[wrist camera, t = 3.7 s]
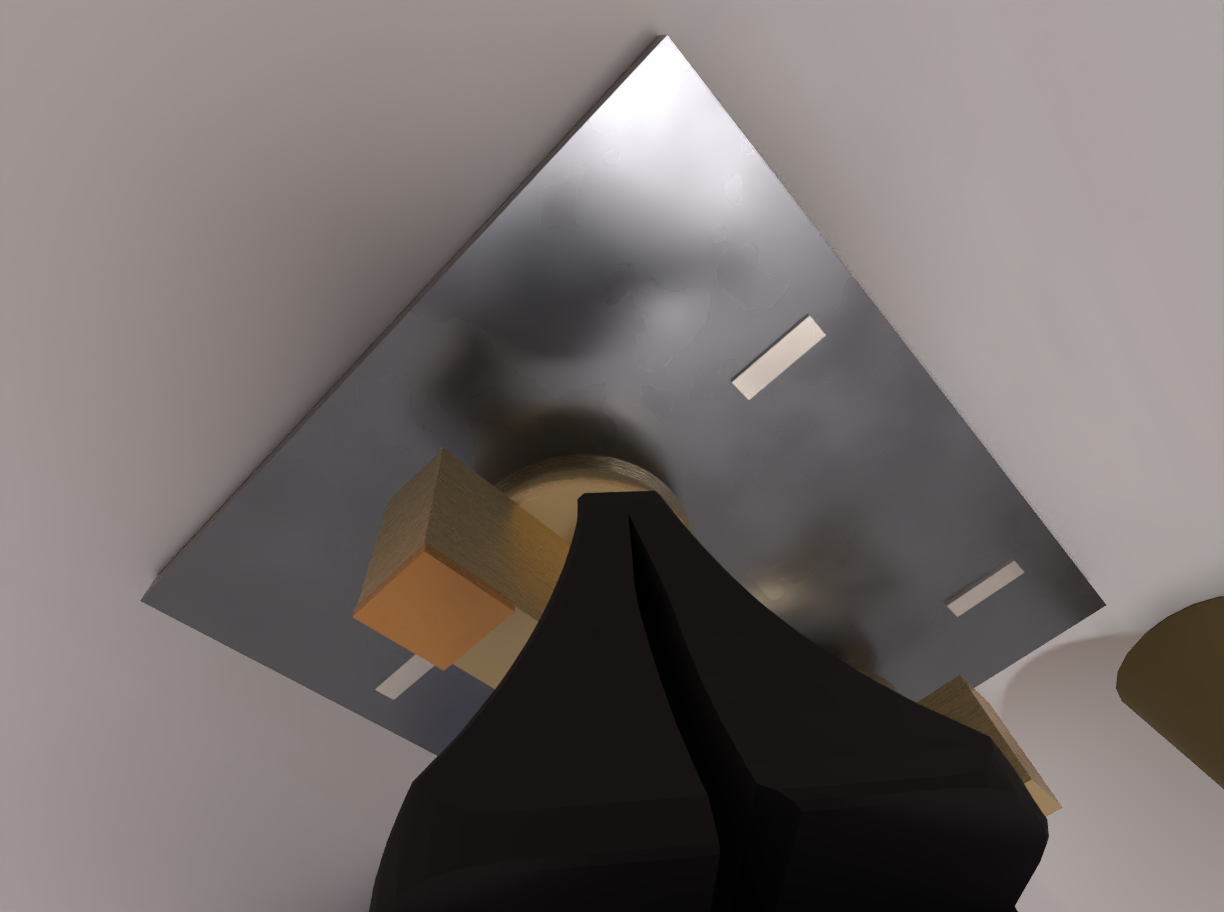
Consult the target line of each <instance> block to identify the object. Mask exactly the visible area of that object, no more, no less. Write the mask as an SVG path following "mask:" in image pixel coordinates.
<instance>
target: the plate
mask: <svg viewBox="0 0 1224 912" xmlns="http://www.w3.org/2000/svg"><path fill="white" fill-rule="evenodd" d="M443 448H444V449H445V450H447V451H448V452H449V453H451V454H452V455H453V456H455V457H456V458H457V459H459V460H460V461H461V462H463V463H464V464H465V465H467V466H468V467H469V468H470V469H472V470H473V471H474V472H476V473H477V474H478V475H480V476H481V477H482V478H484V479H485V480H486V481H488V482H489V483H490V484H492V485H493V486H494V485H495V484H496V483H498V482H499V481H500V480H501V479H503V478H504V477H506V476H508V475H509V474H511V473H512V472H514V471H516V470H518V469H520V468H522V467H525V466H527V465H529V464H532V463H535V462H538V461H541V460H544V459H548V458H553V457H558V456H564V455H576V454H586V455H600V456H607V457H612V458H616V459H620V460H623V461H627V462H629V463H631V464H634V465H636V466H639V467H641V468H643V469H644V470H646V471H648V472H650V473H651V474H653V475H654V476H656V477H657V478H658V479H660V480H661V481H662V482H664V484H665V485H666V486H667V487H668V488H669V489H670V490H671V491H672V492H673V493H674V494H675V496H676V497H677V498H678V500H679V501H680V503H681V505H682V507H683V509H684V511H685V513H686V515H687V518H688V521H689V524H690V527H691V529H692V532H693V535H694V537H695V538H696V539H697V540H698V541H699V542H700V543H701V544H702V545H703V547H704V548H705V549H706V550H707V551H708V552H709V553H710V554H711V555H712V556H713V557H714V558H715V559H716V560H717V561H718V562H719V564H720V565H721V566H722V567H723V568H724V569H725V570H726V571H727V572H728V573H729V574H730V575H731V576H732V577H733V578H734V579H736V580H737V581H738V582H739V583H740V584H741V585H742V586H743V587H744V588H745V589H746V590H747V591H748V592H749V593H750V594H752V595H753V596H754V597H755V598H756V599H757V600H758V601H760V602H761V603H762V604H763V605H764V606H766V607H767V608H768V609H769V610H771V611H772V612H773V613H774V614H776V615H777V616H778V617H780V618H781V619H782V620H784V621H785V622H786V623H787V624H789V625H790V626H791V627H793V628H794V629H795V630H797V631H798V632H799V633H801V634H802V635H804V636H805V637H806V638H808V639H809V640H811V641H812V642H813V643H815V644H817V645H818V646H820V647H821V648H823V649H824V650H826V651H827V652H829V653H830V654H832V655H833V656H835V657H837V658H838V659H840V660H841V661H843V662H844V663H846V664H847V665H849V666H851V667H852V668H854V669H859V670H864V671H868V672H871V673H874V674H877V675H879V676H881V677H883V678H885V679H886V680H887V681H889V682H890V683H891V684H893V685H894V687H895V688H896V689H897V690H898V691H899V693H900V694H901V695H903V696H904V697H906V698H908V699H910V700H912V701H914V702H916V703H917V702H918V701H920V700H921V699H923V698H924V697H926V696H928V695H929V694H931V693H932V692H934V691H935V690H937V689H939V688H940V687H942V686H943V685H945V684H946V683H948V682H950V681H951V680H953V679H954V678H956V677H957V676H959V675H961V676H962V677H963V678H964V679H965V680H966V681H967V682H968V683H969V684H970V685H971V686H972V687H973V688H975V687H976V686H978V685H980V684H981V683H983V682H984V681H986V680H988V679H989V678H991V677H992V676H994V675H996V674H997V673H999V672H1000V671H1002V670H1004V669H1005V668H1007V667H1008V666H1010V665H1012V664H1013V663H1015V662H1016V661H1018V660H1020V659H1021V658H1023V657H1024V656H1026V655H1027V654H1029V653H1031V652H1032V651H1034V650H1035V649H1037V648H1039V647H1040V646H1042V645H1043V644H1045V643H1047V642H1048V641H1050V640H1051V639H1053V638H1055V637H1056V636H1058V635H1059V634H1061V633H1063V632H1064V631H1066V630H1067V629H1069V628H1071V627H1072V626H1074V625H1075V624H1077V623H1079V622H1080V621H1082V620H1083V619H1085V618H1087V617H1088V616H1090V615H1091V614H1093V613H1095V612H1096V611H1098V610H1099V609H1101V608H1102V607H1104V606H1106V604H1105V603H1104V601H1103V600H1102V599H1101V598H1100V596H1099V595H1098V594H1097V592H1096V591H1095V590H1094V589H1093V587H1092V586H1091V585H1090V583H1089V582H1088V581H1087V579H1086V578H1085V577H1084V576H1083V574H1082V573H1081V572H1080V570H1079V569H1078V568H1077V566H1076V565H1075V564H1074V563H1073V561H1072V560H1071V559H1070V557H1069V556H1068V555H1067V553H1066V552H1065V551H1064V550H1063V548H1062V547H1061V546H1060V544H1059V543H1058V542H1057V540H1056V539H1055V538H1054V537H1053V535H1052V534H1051V533H1050V531H1049V530H1048V529H1047V527H1046V526H1045V525H1044V524H1043V522H1042V521H1041V520H1040V518H1039V517H1038V516H1037V515H1036V513H1035V512H1034V511H1033V509H1032V508H1031V507H1030V505H1029V504H1028V503H1027V502H1026V500H1025V499H1024V498H1023V496H1022V495H1021V494H1020V492H1019V491H1018V490H1017V489H1016V487H1015V486H1014V485H1013V483H1012V482H1011V481H1010V479H1009V478H1008V477H1007V476H1006V474H1005V473H1004V472H1003V470H1002V469H1001V468H1000V466H999V465H998V464H997V463H996V461H995V460H994V459H993V457H992V456H991V455H990V454H989V452H988V451H987V450H986V448H985V447H984V446H983V444H982V443H981V442H980V441H979V439H978V438H977V437H976V435H975V434H974V433H973V431H972V430H971V429H970V428H969V426H968V425H967V424H966V422H965V421H964V420H963V418H962V417H961V416H960V415H959V413H958V412H957V411H956V409H955V408H954V407H953V405H952V404H951V403H950V402H949V400H948V399H947V398H946V396H945V395H944V394H943V392H942V391H941V390H940V389H939V387H938V386H937V385H936V383H935V382H934V381H933V380H932V378H931V377H930V376H929V374H928V373H927V372H926V370H925V369H924V368H923V367H922V365H921V364H920V363H919V361H918V360H917V359H916V357H915V356H914V355H913V354H912V352H911V351H910V350H909V348H908V347H907V346H906V344H905V343H904V342H903V341H902V339H901V338H900V337H899V335H898V334H897V333H896V331H895V330H894V329H893V328H892V326H891V325H890V324H889V322H888V321H887V320H886V318H885V317H884V316H883V315H882V313H881V312H880V311H879V309H878V308H877V307H876V306H875V304H874V303H873V302H872V300H871V299H870V298H869V296H868V295H867V294H866V293H865V291H864V290H863V289H862V287H861V286H860V285H859V283H858V282H857V281H856V280H855V278H854V277H853V276H852V274H851V273H850V272H849V270H848V269H847V268H846V267H845V265H844V264H843V263H842V261H841V260H840V259H839V257H838V256H837V255H836V254H835V252H834V251H833V250H832V248H831V247H830V246H829V245H828V243H827V242H826V241H825V239H824V238H823V237H822V235H821V234H820V233H819V232H818V230H817V229H816V228H815V226H814V225H813V224H812V222H811V221H810V220H809V219H808V217H807V216H806V215H805V213H804V212H803V211H802V209H801V208H800V207H799V206H798V204H797V203H796V202H795V200H794V199H793V198H792V196H791V195H790V194H789V193H788V191H787V190H786V189H785V187H784V186H783V185H782V183H781V182H780V181H779V180H778V178H777V177H776V176H775V174H774V173H773V172H772V171H771V169H770V168H769V167H768V165H767V164H766V163H765V161H764V160H763V159H762V158H761V156H760V155H759V154H758V152H757V151H756V150H755V148H754V147H753V146H752V145H751V143H750V142H749V141H748V139H747V138H746V137H745V135H744V134H743V133H742V132H741V130H740V129H739V128H738V126H737V125H736V124H735V122H734V121H733V120H732V119H731V117H730V116H729V115H728V113H727V112H726V111H725V110H724V108H723V107H722V106H721V104H720V103H719V102H718V100H717V99H716V98H715V97H714V95H713V94H712V93H711V91H710V90H709V89H708V87H707V86H706V85H705V84H704V82H703V81H702V80H701V78H700V77H699V76H698V74H697V73H696V72H695V71H694V69H693V68H692V67H691V65H690V64H689V63H688V61H687V60H686V59H685V58H684V56H683V55H682V54H681V52H680V51H679V50H678V48H677V47H676V46H675V45H674V43H673V42H672V41H671V39H670V38H669V37H668V36H667V35H660V36H658V37H657V38H656V39H655V40H654V41H653V42H652V43H651V45H650V46H649V47H648V48H647V49H646V50H645V51H644V52H643V53H642V54H641V55H640V56H639V58H638V59H637V60H636V61H635V62H634V63H633V64H632V65H631V66H630V67H629V68H628V69H627V70H626V72H625V73H624V74H623V75H622V76H621V77H620V78H619V79H618V80H617V81H616V82H615V83H614V84H613V86H612V87H611V88H610V89H609V90H608V91H607V92H606V93H605V94H604V95H603V96H602V97H601V98H600V100H599V101H598V102H597V103H596V104H595V105H594V106H593V107H592V108H591V109H590V110H589V111H588V112H587V114H586V115H585V116H584V117H583V118H582V119H581V120H580V121H579V122H578V123H577V124H576V125H575V126H574V128H573V129H572V130H571V131H570V132H569V133H568V134H567V135H566V136H565V137H564V138H563V139H562V140H561V142H560V143H559V144H558V145H557V146H556V147H555V148H554V149H553V150H552V151H551V152H550V153H549V154H548V156H547V157H546V158H545V159H544V160H543V161H542V162H541V163H540V164H539V165H538V166H537V167H536V168H535V170H534V171H533V172H532V173H531V174H530V175H529V176H528V177H527V178H526V179H525V180H524V181H523V182H522V184H521V185H520V186H519V187H518V188H517V189H516V190H515V191H514V192H513V193H512V194H511V195H510V196H509V198H508V199H507V200H506V201H505V202H504V203H503V204H502V205H501V206H500V207H499V208H498V209H497V210H496V212H495V213H494V214H493V215H492V216H491V217H490V218H489V219H488V220H487V221H486V222H485V223H484V225H483V226H482V227H481V228H480V229H479V230H478V231H477V232H476V233H475V234H474V235H473V236H472V237H471V239H470V240H469V241H468V242H467V243H466V244H465V245H464V246H463V247H462V248H461V249H460V250H459V251H458V253H457V254H456V255H455V256H454V257H453V258H452V259H451V260H450V261H449V262H448V263H447V264H446V265H445V267H444V268H443V269H442V270H441V271H440V272H439V273H438V274H437V275H436V276H435V277H434V278H433V279H432V281H431V282H430V283H429V284H428V285H427V286H426V287H425V288H424V289H423V290H422V291H421V292H420V293H419V295H418V296H417V297H416V298H415V299H414V300H413V301H412V302H411V303H410V304H409V305H408V306H407V307H406V309H405V310H404V311H403V312H402V313H401V314H400V315H399V316H398V317H397V318H396V319H395V320H394V321H393V323H392V324H391V325H390V326H389V327H388V328H387V329H386V330H385V331H384V332H383V333H382V334H381V335H380V337H379V338H378V339H377V340H376V341H375V342H374V343H373V344H372V345H371V346H370V347H369V348H368V349H367V351H366V352H365V353H364V354H363V355H362V356H361V357H360V358H359V359H358V360H357V361H356V362H355V363H354V365H353V366H352V367H351V368H350V369H349V370H348V371H347V372H346V373H345V374H344V375H343V376H342V377H341V379H340V380H339V381H338V382H337V383H336V384H335V385H334V386H333V387H332V388H331V389H330V390H329V392H328V393H327V394H326V395H325V396H324V397H323V398H322V399H321V400H320V401H319V402H318V403H317V404H316V406H315V407H314V408H313V409H312V410H311V411H310V412H309V413H308V414H307V415H306V416H305V417H304V418H303V420H302V421H301V422H300V423H299V424H298V425H297V426H296V427H295V428H294V429H293V430H292V431H291V432H290V434H289V435H288V436H287V437H286V438H285V439H284V440H283V441H282V442H281V443H280V444H279V445H278V446H277V448H276V449H275V450H274V451H273V452H272V453H271V454H270V455H269V456H268V457H267V458H266V459H265V460H264V462H263V463H262V464H261V465H260V466H259V467H258V468H257V469H256V470H255V471H254V472H253V473H252V474H251V476H250V477H249V478H248V479H247V480H246V481H245V482H244V483H243V484H242V485H241V486H240V487H239V488H238V490H237V491H236V492H235V493H234V494H233V495H232V496H231V497H230V498H229V499H228V500H227V501H226V502H225V504H224V505H223V506H222V507H221V508H220V509H219V510H218V511H217V512H216V513H215V514H214V515H213V516H212V518H211V519H210V520H209V521H208V522H207V523H206V524H205V525H204V526H203V527H202V528H201V529H200V530H199V532H198V533H197V534H196V535H195V536H194V537H193V538H192V539H191V540H190V541H189V542H188V543H187V544H186V546H185V547H184V548H183V549H182V550H181V551H180V552H179V553H178V554H177V555H176V556H175V557H174V558H173V560H172V561H171V562H170V563H169V564H168V565H167V566H166V567H165V568H164V569H163V570H162V571H161V573H160V574H159V575H158V576H157V577H156V578H155V580H154V581H153V583H152V584H151V586H150V587H149V589H148V590H147V591H146V593H145V594H144V596H143V597H142V599H141V600H140V601H142V602H144V603H146V604H148V605H149V606H151V607H153V608H155V609H157V610H159V611H161V612H163V613H165V614H167V615H169V616H171V617H173V618H174V619H176V620H178V621H180V622H182V623H184V624H186V625H188V626H190V627H192V628H194V629H196V630H197V631H199V632H201V633H203V634H205V635H207V636H209V637H211V638H213V639H215V640H217V641H219V642H220V643H222V644H224V645H226V646H228V647H230V648H232V649H234V650H236V651H238V652H240V653H242V654H244V655H245V656H247V657H249V658H251V659H253V660H255V661H257V662H259V663H261V664H263V665H265V666H267V667H268V668H270V669H272V670H274V671H276V672H278V673H280V674H282V675H284V676H286V677H288V678H290V679H292V680H293V681H295V682H297V683H299V684H301V685H303V686H305V687H307V688H309V689H311V690H313V691H315V692H316V693H318V694H320V695H322V696H324V697H326V698H328V699H330V700H332V701H334V702H336V703H338V704H340V705H341V706H343V707H345V708H347V709H349V710H351V711H353V712H355V713H357V714H359V715H361V716H363V717H364V718H366V719H368V720H370V721H372V722H374V723H376V724H378V725H380V726H382V727H384V728H386V729H387V730H389V731H391V732H393V733H395V734H397V735H399V736H401V737H403V738H405V739H407V740H409V741H411V742H412V743H414V744H416V745H418V746H420V747H422V748H424V749H426V750H428V751H430V752H432V753H434V754H435V755H437V756H438V755H439V754H440V753H441V752H442V751H443V750H444V749H445V748H446V747H447V746H448V745H449V744H450V743H451V742H452V741H453V740H454V739H455V737H456V736H457V735H458V734H459V733H460V732H461V731H462V730H463V728H464V727H465V726H466V725H467V724H468V722H469V721H470V720H471V719H472V717H473V716H474V715H475V714H476V712H477V711H478V710H479V709H480V707H481V706H482V705H483V704H484V702H485V701H486V700H487V699H488V697H489V696H490V695H491V694H492V692H493V691H494V690H495V689H494V688H492V687H490V686H489V685H487V684H485V683H484V682H482V681H480V680H479V679H477V678H475V677H474V676H472V675H470V674H469V673H467V672H465V671H464V670H462V669H460V668H459V667H457V666H455V665H454V664H452V665H450V666H449V667H448V668H447V669H446V670H444V671H443V670H441V669H440V668H438V667H436V666H435V665H433V664H431V663H430V662H428V661H426V660H424V659H423V658H421V657H419V656H418V655H416V654H414V653H413V652H411V651H409V650H407V649H406V648H404V647H402V646H401V645H399V644H397V643H396V642H394V641H392V640H390V639H389V638H387V637H385V636H384V635H382V634H380V633H379V632H377V631H375V630H373V629H372V628H370V627H368V626H367V625H365V624H363V623H362V622H360V621H358V620H356V619H355V618H353V613H354V610H355V607H356V606H357V604H358V601H359V597H360V594H361V591H362V587H363V584H364V581H365V577H366V574H367V571H368V567H369V564H370V560H371V557H372V554H373V550H374V547H375V544H376V540H377V537H378V533H379V530H380V527H381V523H382V520H383V517H384V513H385V510H386V506H387V503H388V501H389V500H390V499H391V498H392V497H393V496H394V495H395V494H396V493H397V492H398V491H399V490H400V489H401V488H402V487H403V486H404V485H405V484H406V483H407V482H409V481H410V480H411V479H412V478H413V477H414V476H415V475H416V474H417V473H418V472H419V471H420V470H421V469H422V468H423V467H424V466H425V465H426V464H427V463H428V462H429V461H430V460H431V459H432V458H433V457H434V456H435V455H436V454H437V453H438V452H439V451H440V450H442V449H443Z"/></svg>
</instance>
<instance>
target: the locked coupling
mask: <svg viewBox="0 0 1224 912" xmlns="http://www.w3.org/2000/svg"><path fill="white" fill-rule="evenodd" d="M856 670H858V671H859V672H861V673H863V674H864V675H866V676H868V677H869V678H871V679H873V680H875V681H877V682H878V683H880V684H882V685H884V686H886V687H888V688H890V689H891V690H893V691H895V692H897V693H899V691H898V690H897V689H896V688H895V687H894V685H893V684H891V683H890V682H889V681H887V680H886V679H885V678H883V677H881V676H879V675H877V674H874V673H871V672H868V671H864V670H859V669H856ZM899 694H900V693H899ZM917 703H918V704H920V705H922V706H924V707H926V708H929V709H931V710H933V711H935V712H937V713H939V714H942V715H944V716H946V717H948V718H950V719H953V720H955V721H957V722H959V723H961V724H964V725H966V726H968V727H970V728H972V729H974V730H977V731H979V732H981V733H983V734H985V735H988V736H990V737H991V739H992V740H993V741H994V743H995V744H996V745H997V747H998V748H999V749H1000V750H1001V752H1002V753H1003V754H1004V756H1005V757H1006V758H1007V760H1008V761H1009V762H1010V764H1011V765H1012V766H1013V768H1014V769H1015V771H1016V772H1017V774H1018V775H1019V777H1020V778H1021V780H1022V781H1023V783H1024V784H1025V786H1026V788H1027V789H1028V791H1029V792H1030V794H1031V796H1032V797H1033V799H1034V800H1035V802H1036V803H1037V805H1038V806H1039V808H1040V809H1041V811H1042V812H1043V814H1044V815H1045V817H1046V816H1048V815H1050V814H1052V813H1054V812H1055V811H1057V810H1059V809H1061V808H1062V806H1061V805H1060V803H1059V802H1058V800H1057V799H1056V798H1055V796H1054V795H1053V793H1052V792H1051V790H1050V789H1049V788H1048V786H1047V785H1046V783H1045V782H1044V780H1043V779H1042V778H1041V776H1040V775H1039V773H1038V772H1037V771H1036V769H1035V768H1034V766H1033V765H1032V763H1031V762H1030V761H1029V759H1028V758H1027V756H1026V755H1025V754H1024V752H1023V751H1022V750H1021V748H1020V746H1019V745H1018V744H1017V742H1016V741H1015V739H1014V738H1013V737H1012V735H1011V734H1010V732H1009V731H1008V729H1007V728H1006V726H1005V725H1004V724H1003V722H1002V721H1001V719H1000V718H999V716H998V715H997V714H996V712H995V711H994V709H993V708H992V706H991V705H990V704H989V703H988V702H987V701H986V700H985V699H984V698H983V697H982V696H981V695H980V694H979V693H978V692H977V691H976V690H975V689H974V688H973V687H972V686H971V685H970V684H969V683H968V682H967V681H966V680H965V679H964V678H963V677H962V676H961V675H959V676H957V677H956V678H954V679H953V680H951V681H950V682H948V683H946V684H945V685H943V686H942V687H940V688H939V689H937V690H935V691H934V692H932V693H931V694H929V695H928V696H926V697H924V698H923V699H921V700H920V701H918V702H917Z"/></svg>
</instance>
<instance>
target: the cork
mask: <svg viewBox="0 0 1224 912" xmlns="http://www.w3.org/2000/svg"><path fill="white" fill-rule="evenodd" d="M1116 689H1117V691H1118V693H1119V696H1120V698H1121V700H1122V702H1124V703H1125V704H1126V705H1128V707H1129V708H1131V709H1132V710H1133V711H1134V712H1135V713H1136V714H1138V715H1139V716H1140V717H1141V718H1142V719H1143V720H1145V721H1146V722H1147V723H1148V724H1149V725H1151V727H1153V728H1154V729H1155V730H1156V731H1157V732H1158V733H1160V734H1161V735H1162V736H1163V737H1164V738H1165V739H1167V740H1168V741H1169V742H1170V743H1171V744H1172V745H1174V746H1175V747H1176V748H1177V749H1178V750H1179V751H1180V752H1182V753H1183V754H1184V755H1185V756H1186V757H1187V758H1189V759H1190V760H1191V761H1192V762H1193V763H1194V764H1195V765H1197V766H1198V767H1199V768H1200V769H1201V770H1203V771H1204V772H1205V773H1206V774H1207V775H1208V776H1209V777H1211V778H1212V779H1213V780H1214V781H1215V782H1216V783H1217V784H1219V785H1220V786H1221V787H1222V788H1223V789H1224V597H1218V598H1215V599H1211V600H1208V601H1204V602H1201V603H1198V604H1194V605H1192V606H1190V607H1188V608H1186V609H1184V610H1182V611H1180V612H1178V613H1176V614H1174V615H1172V616H1170V617H1168V618H1166V619H1165V620H1163V621H1162V622H1161V623H1159V624H1158V625H1157V626H1155V627H1154V628H1153V629H1151V630H1150V631H1149V632H1147V633H1146V634H1145V635H1144V636H1143V637H1142V638H1141V639H1140V640H1139V641H1138V642H1137V643H1136V644H1135V646H1134V647H1133V648H1132V649H1131V650H1130V651H1129V652H1128V653H1127V655H1126V657H1125V659H1124V661H1123V663H1122V665H1121V667H1120V669H1119V671H1118V674H1117V684H1116Z"/></svg>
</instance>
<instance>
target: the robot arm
mask: <svg viewBox="0 0 1224 912" xmlns="http://www.w3.org/2000/svg"><path fill="white" fill-rule="evenodd" d="M1048 837H1049V834H1048V823H1047V818H1046V817H1045V815H1044V814H1043V812H1042V811H1041V809H1040V808H1039V806H1038V805H1037V803H1036V802H1035V800H1034V799H1033V797H1032V796H1031V794H1030V792H1029V791H1028V789H1027V788H1026V786H1025V784H1024V783H1023V781H1022V780H1021V778H1020V777H1019V775H1018V774H1017V772H1016V771H1015V769H1014V768H1013V766H1012V765H1011V764H1010V762H1009V761H1008V760H1007V758H1006V757H1005V756H1004V754H1003V753H1002V752H1001V750H1000V749H999V748H998V747H997V745H996V744H995V743H994V741H993V740H992V739H991V737H990V736H988V735H985V734H983V733H981V732H979V731H977V730H974V729H972V728H970V727H968V726H966V725H964V724H961V723H959V722H957V721H955V720H953V719H950V718H948V717H946V716H944V715H942V714H939V713H937V712H935V711H933V710H931V709H929V708H926V707H924V706H922V705H920V704H918V703H916V702H914V701H912V700H910V699H908V698H906V697H904V696H903V695H901V694H899V693H897V692H895V691H893V690H891V689H890V688H888V687H886V686H884V685H882V684H880V683H878V682H877V681H875V680H873V679H871V678H869V677H868V676H866V675H864V674H863V673H861V672H859V671H858V670H856V669H854V668H852V667H851V666H849V665H847V664H846V663H844V662H843V661H841V660H840V659H838V658H837V657H835V656H833V655H832V654H830V653H829V652H827V651H826V650H824V649H823V648H821V647H820V646H818V645H817V644H815V643H813V642H812V641H811V640H809V639H808V638H806V637H805V636H804V635H802V634H801V633H799V632H798V631H797V630H795V629H794V628H793V627H791V626H790V625H789V624H787V623H786V622H785V621H784V620H782V619H781V618H780V617H778V616H777V615H776V614H774V613H773V612H772V611H771V610H769V609H768V608H767V607H766V606H764V605H763V604H762V603H761V602H760V601H758V600H757V599H756V598H755V597H754V596H753V595H752V594H750V593H749V592H748V591H747V590H746V589H745V588H744V587H743V586H742V585H741V584H740V583H739V582H738V581H737V580H736V579H734V578H733V577H732V576H731V575H730V574H729V573H728V572H727V571H726V570H725V569H724V568H723V567H722V566H721V565H720V564H719V562H718V561H717V560H716V559H715V558H714V557H713V556H712V555H711V554H710V553H709V552H708V551H707V550H706V549H705V548H704V547H703V545H702V544H701V543H700V542H699V541H698V540H697V539H696V538H695V537H694V535H693V534H692V533H691V532H690V531H689V530H688V528H687V527H686V526H685V525H684V524H683V523H682V521H681V520H680V519H679V518H678V517H677V515H676V514H675V513H674V512H673V510H672V509H671V508H670V507H669V505H668V504H667V503H666V502H665V500H664V499H663V498H662V497H661V495H659V494H658V493H657V492H656V491H626V492H597V493H584V494H583V495H581V496H580V497H579V498H578V499H577V523H576V527H575V531H574V536H573V539H572V543H571V546H570V549H569V552H568V555H567V558H566V561H565V564H564V567H563V569H562V572H561V574H560V577H559V579H558V581H557V583H556V586H555V588H554V590H553V593H552V595H551V597H550V599H549V602H548V604H547V606H546V608H545V610H544V612H543V614H542V616H541V618H540V619H539V621H538V623H537V625H536V627H535V629H534V630H533V632H532V634H531V636H530V637H529V639H528V641H527V642H526V644H525V646H524V647H523V649H522V650H521V652H520V653H519V655H518V657H517V658H516V660H515V661H514V663H513V664H512V666H511V667H510V669H509V670H508V672H507V673H506V675H505V676H504V678H503V679H502V680H501V682H500V683H499V685H498V686H497V687H496V689H495V690H494V691H493V692H492V694H491V695H490V696H489V697H488V699H487V700H486V701H485V702H484V704H483V705H482V706H481V707H480V709H479V710H478V711H477V712H476V714H475V715H474V716H473V717H472V719H471V720H470V721H469V722H468V724H467V725H466V726H465V727H464V728H463V730H462V731H461V732H460V733H459V734H458V735H457V736H456V737H455V739H454V740H453V741H452V742H451V743H450V744H449V745H448V746H447V747H446V748H445V749H444V750H443V751H442V752H441V753H440V754H439V755H438V756H437V757H436V758H435V759H434V760H433V761H432V762H431V764H430V765H429V766H428V767H427V768H426V769H425V770H424V771H423V772H422V773H421V774H420V775H419V776H418V777H417V778H416V779H415V780H414V781H413V782H412V784H411V786H410V789H409V791H408V793H407V795H406V797H405V800H404V802H403V804H402V806H401V809H400V811H399V813H398V816H397V818H396V820H395V823H394V826H393V828H392V831H391V833H390V836H389V838H388V841H387V844H386V847H385V850H384V853H383V856H382V859H381V862H380V866H379V869H378V873H377V876H376V879H375V883H374V888H373V893H372V898H371V904H370V910H369V912H1018V911H1017V909H1016V908H1015V905H1016V903H1017V901H1018V899H1019V898H1020V896H1021V894H1022V892H1023V891H1024V889H1025V887H1026V885H1027V884H1028V882H1029V880H1030V878H1031V877H1032V875H1033V873H1034V871H1035V870H1036V868H1037V866H1038V864H1039V863H1040V861H1041V858H1042V855H1043V852H1044V849H1045V847H1046V844H1047V841H1048Z"/></svg>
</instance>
